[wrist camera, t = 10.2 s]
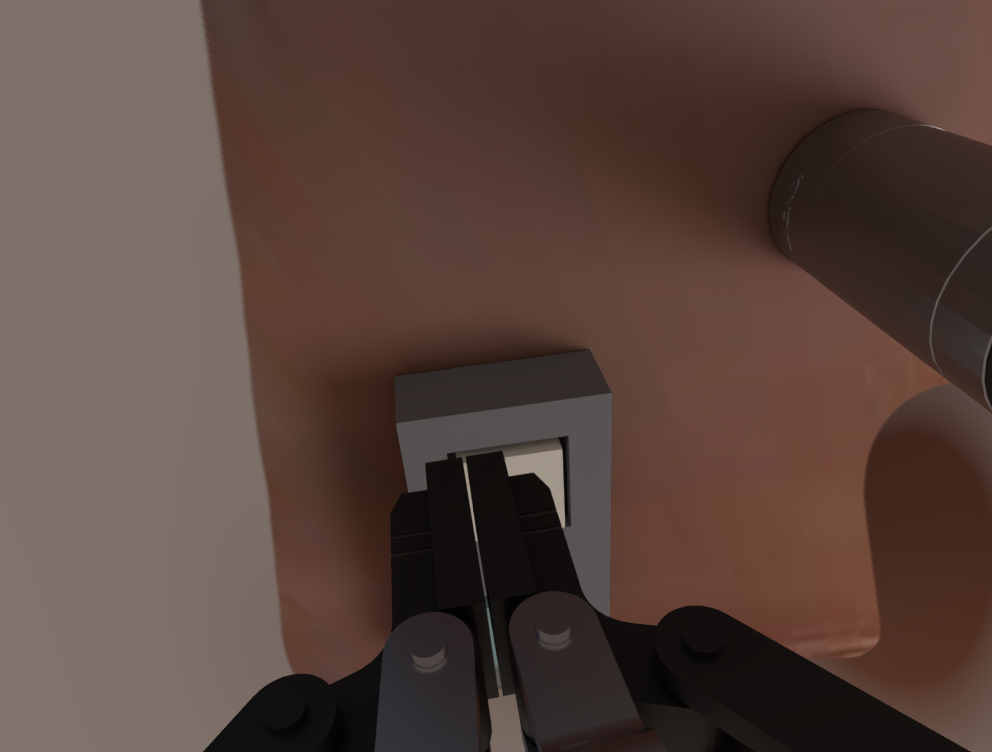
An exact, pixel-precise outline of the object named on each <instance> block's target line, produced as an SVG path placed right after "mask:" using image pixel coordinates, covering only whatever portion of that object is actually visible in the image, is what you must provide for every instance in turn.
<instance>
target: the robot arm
mask: <svg viewBox="0 0 992 752" xmlns="http://www.w3.org/2000/svg"><path fill="white" fill-rule="evenodd" d="M769 220H770V225H771V230H772V235H773V237H774V239H775V241H776V243H777V245H778V247H779V248H780V249H781V250H782V252H783V253H784V254H785V255H786V256H787V257H788V258H789V259H790V260H792V261H793V262H794V263H796V264H797V265H798V266H800V267H801V268H802V269H803V270H805V271H806V272H807V273H809V274H810V275H811V276H813V277H814V278H815V279H817V280H818V281H819V282H820V283H821V284H823V285H824V286H825V287H826V288H828V289H829V290H830V291H832V292H833V293H834V294H836V295H837V296H838V297H840V298H841V299H842V300H843V301H845V302H846V303H847V304H849V305H850V306H851V307H853V308H854V309H855V310H857V311H858V312H859V313H860V314H862V315H863V316H864V317H866V318H867V319H868V320H870V321H871V322H872V323H873V324H875V325H876V326H877V327H879V328H880V329H881V330H883V331H884V332H885V333H887V334H888V335H889V336H890V337H892V338H893V339H894V340H896V341H897V342H898V343H900V344H901V345H902V346H904V347H905V348H906V349H907V350H909V351H910V352H911V353H913V354H914V355H915V356H917V357H918V358H919V359H921V360H922V361H923V362H924V363H926V364H927V365H928V366H930V367H931V368H932V369H934V370H935V371H936V372H937V373H939V374H940V375H941V376H943V377H944V378H945V379H947V380H948V381H949V382H951V383H952V384H953V385H955V386H956V387H958V388H959V389H960V390H961V391H963V392H964V393H966V394H967V395H968V396H969V397H971V398H972V399H973V400H975V401H976V402H977V403H978V404H980V405H981V406H982V407H984V408H985V409H986V410H988V411H989V412H990V413H992V146H991V145H988V144H985V143H982V142H979V141H975V140H972V139H969V138H966V137H963V136H960V135H957V134H954V133H951V132H948V131H945V130H943V129H940V128H937V127H934V126H931V125H928V124H925V123H922V122H919V121H916V120H913V119H909V118H906V117H903V116H900V115H897V114H894V113H891V112H888V111H881V110H874V109H870V110H860V111H854V112H850V113H847V114H844V115H841V116H838V117H836V118H834V119H832V120H831V121H829V122H827V123H825V124H823V125H821V126H820V127H819V128H817V129H816V130H815V131H814V132H812V133H811V134H810V135H809V136H807V137H806V138H805V139H804V140H803V141H802V142H801V143H800V144H799V145H798V147H797V148H796V149H795V150H794V151H793V152H792V153H791V155H790V156H789V158H788V159H787V161H786V163H785V164H784V166H783V167H782V169H781V171H780V173H779V175H778V178H777V180H776V182H775V185H774V187H773V192H772V196H771V200H770V215H769ZM465 457H466V465H467V471H468V478H469V485H470V492H471V499H472V506H473V513H474V520H475V527H476V533H477V540H478V546H479V552H480V558H481V564H482V570H483V576H484V583H485V589H486V595H487V601H488V607H489V613H490V619H491V625H492V631H493V637H494V643H495V649H496V656H497V662H498V668H499V674H500V680H501V686H502V692H503V696H505V695H511V694H515V695H516V700H517V706H518V711H519V717H520V724H521V732H522V739H523V744H524V748H525V752H970V751H968V750H967V749H965V748H963V747H961V746H959V745H957V744H956V743H954V742H952V741H951V740H949V739H947V738H945V737H944V736H941V735H940V734H938V733H936V732H935V731H933V730H931V729H929V728H927V727H926V726H924V725H922V724H921V723H919V722H917V721H915V720H913V719H912V718H910V717H908V716H906V715H904V714H903V713H901V712H899V711H897V710H896V709H894V708H892V707H890V706H888V705H887V704H885V703H883V702H881V701H880V700H878V699H876V698H874V697H873V696H871V695H869V694H867V693H866V692H864V691H862V690H860V689H859V688H856V687H855V686H853V685H851V684H850V683H848V682H846V681H844V680H843V679H841V678H839V677H837V676H836V675H834V674H832V673H830V672H828V671H827V670H825V669H823V668H821V667H819V666H818V665H816V664H814V663H812V662H811V661H809V660H807V659H805V658H804V657H802V656H800V655H798V654H797V653H795V652H793V651H791V650H789V649H788V648H786V647H784V646H782V645H781V644H779V643H777V642H775V641H774V640H772V639H770V638H768V637H766V636H765V635H763V634H761V633H759V632H758V631H756V630H754V629H752V628H751V627H749V626H747V625H745V624H743V623H742V622H740V621H738V620H736V619H735V618H733V617H731V616H729V615H727V614H726V613H724V612H721V611H719V610H717V609H714V608H710V607H705V606H685V607H681V608H678V609H675V610H673V611H671V612H670V613H668V614H667V615H665V616H664V617H663V618H662V619H661V621H660V622H659V624H658V626H654V625H645V624H635V623H628V622H622V621H619V620H615V619H613V618H610V617H608V616H606V615H604V614H603V613H601V612H599V611H598V610H597V609H596V608H594V607H593V606H592V605H591V604H590V603H589V601H588V600H587V599H586V597H585V596H584V594H583V591H582V589H581V586H580V583H579V579H578V576H577V573H576V570H575V567H574V563H573V560H572V557H571V554H570V551H569V547H568V544H567V541H566V538H565V535H564V532H563V529H562V526H561V522H560V519H559V516H558V512H557V510H556V506H555V503H554V500H553V496H552V493H551V490H550V488H549V487H548V486H547V485H546V484H545V483H544V482H543V481H542V480H541V479H540V478H539V477H538V476H537V475H536V474H535V473H534V472H532V473H526V474H520V475H514V476H509V475H508V471H507V467H506V463H505V458H504V454H503V451H495V452H489V453H483V454H476V455H470V456H465ZM425 470H426V481H427V490H422V491H416V492H410V493H404V494H401V495H400V497H399V499H398V501H397V503H396V505H395V507H394V509H393V511H392V513H391V555H392V558H391V568H392V630H391V634H390V636H389V637H388V639H387V641H386V643H385V646H384V648H383V650H382V651H381V652H380V654H379V655H378V656H377V657H376V658H375V659H374V660H373V661H372V662H371V663H369V664H368V665H366V666H365V667H364V668H362V669H360V670H359V671H357V672H355V673H353V674H351V675H349V676H347V677H345V678H343V679H341V680H339V681H337V682H334V683H332V684H330V685H329V684H328V683H327V682H326V681H324V680H323V679H321V678H319V677H317V676H314V675H309V674H294V675H289V676H285V677H282V678H280V679H277V680H275V681H273V682H271V683H270V684H268V685H266V686H265V687H264V688H262V689H261V690H260V691H259V692H258V693H257V694H256V695H255V696H253V698H252V699H251V700H250V701H249V702H248V703H247V704H246V705H245V706H244V707H243V708H242V710H241V711H240V712H239V713H238V714H237V715H236V716H235V717H234V718H233V719H232V721H231V722H230V723H229V724H228V725H227V726H226V727H225V728H224V729H223V730H222V731H221V733H220V734H219V735H218V736H217V737H216V738H215V739H214V740H213V741H212V743H211V744H210V745H209V746H208V747H207V748H206V749H205V750H204V751H203V752H491V746H490V740H491V733H492V727H491V719H490V713H489V705H488V699H491V698H496V697H499V692H498V685H497V678H496V671H495V664H494V657H493V651H492V644H491V637H490V630H489V623H488V616H487V609H486V602H485V596H484V590H483V583H482V577H481V571H480V565H479V559H478V552H477V546H476V540H475V534H474V527H473V521H472V515H471V509H470V503H469V496H468V490H467V484H466V478H465V472H464V465H463V459H462V457H459V458H452V459H446V460H440V461H433V462H427V463H425Z"/></svg>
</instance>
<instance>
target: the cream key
mask: <svg viewBox="0 0 992 752" xmlns="http://www.w3.org/2000/svg"><path fill="white" fill-rule="evenodd" d="M495 451H503V454H504V458H505V463H506V467H507V471H508V475H509V476H514V475H520V474H526V473H532V472H534V473H535V474H536V475H537V476H538V477H539V478H540V479H541V480H542V481H543V482H544V483H545V484H546V485H547V486H548V487H549V488H550V490H551V493H552V496H553V500H554V503H555V506H556V510H557V512H558V516H559V519H560V522H561V526H562V528H564V527H565V511H564V483H563V454H562V447H561V444H560V441H559V439H558V437H556V438H549V439H542V440H535V441H528V442H521V443H514V444H507V445H500V446H494V447H487V448H480V449H473V450H466V451H459V452H455V453H456V458H459V457H462V459H463V465H464V472H465V478H466V484H467V490H468V496H469V503H470V509H471V515H472V521H473V527H474V534H475V540H476V541H478V540H477V533H476V527H475V520H474V513H473V506H472V499H471V492H470V485H469V478H468V471H467V465H466V457H465V456H470V455H476V454H483V453H489V452H495Z"/></svg>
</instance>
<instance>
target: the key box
mask: <svg viewBox="0 0 992 752" xmlns="http://www.w3.org/2000/svg"><path fill="white" fill-rule="evenodd" d="M394 378H395V414H396V427H397V433H398V438H399V444H400V449H401V454H402V460H403V465H404V471H405V476H406V482H407V487H408V492H409V493H410V492H416V491H422V490H427V481H426V470H425V463H427V462H433V461H440V460H446V459H452V458H456V453H455V452H459V451H466V450H473V449H480V448H487V447H494V446H500V445H507V444H514V443H521V442H528V441H535V440H542V439H549V438H556V437H558V439H559V441H560V444H561V447H562V454H563V483H564V511H565V527H564V528H562V529H563V532H564V535H565V538H566V541H567V544H568V547H569V551H570V554H571V557H572V560H573V563H574V567H575V570H576V573H577V576H578V579H579V583H580V586H581V589H582V591H583V594H584V596H585V597H586V599H587V600H588V601H589V603H590V604H591V605H592V606H593V607H594V608H596V609H597V610H598V611H599V612H601V613H603V614H604V615H606V616H608V617H610V536H611V435H612V392H611V390H610V388H609V386H608V384H607V382H606V380H605V378H604V377H603V375H602V373H601V371H600V369H599V367H598V365H597V363H596V361H595V359H594V357H593V355H592V353H591V351H590V350H584V351H576V352H569V353H561V354H554V355H547V356H539V357H532V358H525V359H517V360H510V361H503V362H495V363H488V364H481V365H473V366H466V367H458V368H451V369H444V370H436V371H429V372H422V373H414V374H407V375H400V376H394ZM476 546H477V552H478V559H479V565H480V571H481V577H482V583H483V590H484V596H485V597H486V596H487V595H486V589H485V583H484V576H483V570H482V564H481V558H480V552H479V546H478V541H476ZM495 671H496V678H497V685H498V687H501V680H500V674H499V668H498V667H495Z"/></svg>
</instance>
